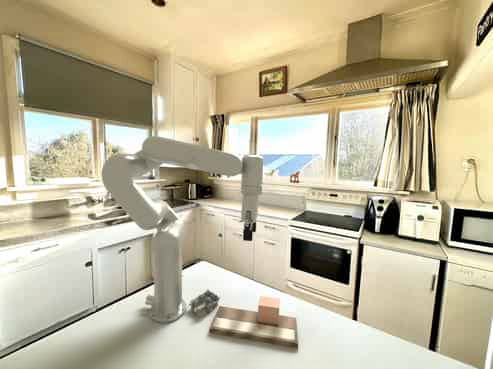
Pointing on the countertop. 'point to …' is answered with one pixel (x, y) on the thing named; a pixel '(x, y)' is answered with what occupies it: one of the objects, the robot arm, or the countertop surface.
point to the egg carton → (206, 298)
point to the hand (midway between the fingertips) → (249, 235)
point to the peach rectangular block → (268, 310)
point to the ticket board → (254, 327)
